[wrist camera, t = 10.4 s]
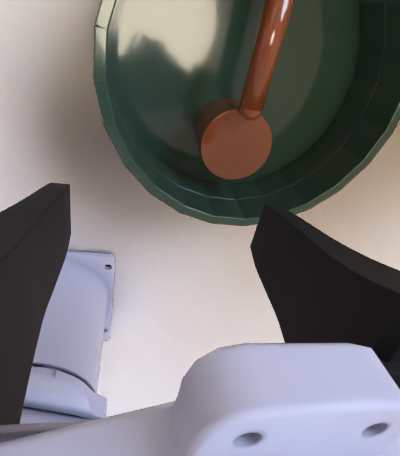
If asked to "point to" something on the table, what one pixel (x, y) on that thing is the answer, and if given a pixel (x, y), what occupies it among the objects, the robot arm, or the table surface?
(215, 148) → the brown toy plunger
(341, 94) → the tin
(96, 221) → the table surface
